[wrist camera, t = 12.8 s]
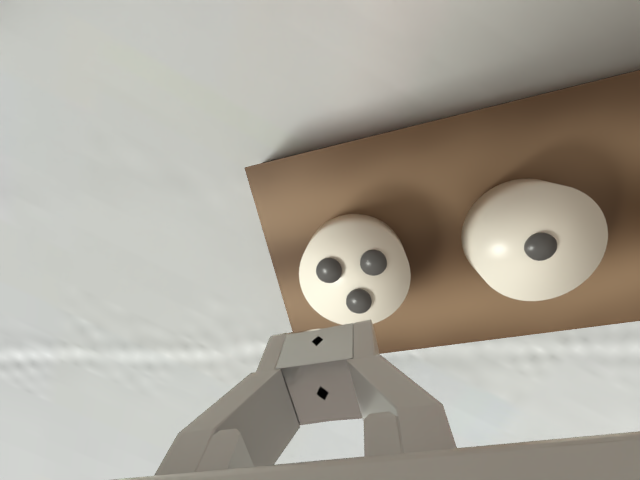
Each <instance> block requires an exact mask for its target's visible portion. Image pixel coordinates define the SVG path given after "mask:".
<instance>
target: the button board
mask: <svg viewBox="0 0 640 480" xmlns="http://www.w3.org/2000/svg"><path fill="white" fill-rule="evenodd" d="M245 171H246V174H247V178H248V181H249V184H250V188H251V191H252V195H253V198H254V201H255V205H256V208H257V212H258V215H259V219H260V222H261V225H262V229H263V232H264V236H265V239H266V242H267V246H268V249H269V253H270V256H271V259H272V263H273V266H274V270H275V273H276V276H277V280H278V283H279V287H280V290H281V293H282V297H283V300H284V304H285V307H286V310H287V314H288V317H289V321H290V324H291V327H292V331H293V332H298V331H306V330H313V329H320V328H321V329H323V328H328V327H334V326H339V325H341V324H337V323H335V322H332V321H330V320H328V319H326V318H324V317H323V316H321V315H320V314H319V313H318V312H316V311H315V310H314V309H313V308H312V307H311V305H310V304H309V303H308V301H307V300H306V298H305V296H304V294H303V292H302V289H301V286H300V281H299V267H300V262H301V259H302V256H303V254H304V252H305V250H306V248H307V246H308V244H309V242H310V240H311V238H312V236H313V235H314V233H315V232H316V231H317V230H318V229H319V228H320V227H321V226H322V225H323V224H325V223H326V222H328V221H329V220H331V219H333V218H336V217H338V216H342V215H347V214H363V215H367V216H371V217H374V218H376V219H378V220H380V221H382V222H384V223H385V224H386V225H388V226H389V227H390V228H391V229H392V230H393V231H394V232H395V233H396V235H397V236H398V238H399V239H400V241H401V244H402V246H403V249H404V251H405V254H406V256H407V259H408V262H409V266H410V273H411V279H410V286H409V290H408V293H407V295H406V297H405V299H404V301H403V303H402V304H401V305H400V307H399V308H398V309H397V310H396V311H395V312H394V313H393V314H391V315H390V316H389V317H387V318H385V319H384V320H382V321H380V322H377V323H374V324H373V327H374V331H375V336H376V340H377V345H378V349H379V354H381V353H389V352H397V351H405V350H413V349H421V348H429V347H437V346H444V345H452V344H460V343H468V342H476V341H484V340H492V339H500V338H507V337H515V336H523V335H531V334H539V333H547V332H555V331H563V330H571V329H578V328H586V327H594V326H602V325H610V324H618V323H626V322H634V321H640V70H637V71H633V72H629V73H625V74H621V75H617V76H613V77H609V78H605V79H601V80H597V81H593V82H589V83H585V84H581V85H576V86H572V87H568V88H564V89H560V90H556V91H552V92H548V93H544V94H540V95H536V96H532V97H528V98H524V99H520V100H516V101H512V102H508V103H504V104H500V105H496V106H492V107H487V108H483V109H479V110H475V111H471V112H467V113H463V114H459V115H455V116H451V117H447V118H443V119H439V120H435V121H431V122H427V123H423V124H419V125H415V126H411V127H407V128H403V129H398V130H394V131H390V132H386V133H382V134H378V135H374V136H370V137H366V138H362V139H358V140H354V141H350V142H346V143H342V144H338V145H334V146H330V147H326V148H322V149H318V150H314V151H309V152H305V153H301V154H297V155H293V156H289V157H285V158H281V159H277V160H273V161H269V162H265V163H261V164H257V165H253V166H249V167H245ZM516 179H538V180H542V181H547V182H551V183H555V184H559V185H564V186H568V187H572V188H574V189H577V190H579V191H581V192H583V193H585V194H586V195H588V196H589V197H590V198H592V199H593V200H594V201H595V202H596V204H597V205H598V206H599V207H600V209H601V210H602V212H603V214H604V217H605V219H606V223H607V228H608V241H607V246H606V250H605V253H604V256H603V258H602V260H601V262H600V264H599V265H598V267H597V268H596V269H595V271H594V272H593V273H592V274H591V275H590V277H589V278H588V279H586V280H585V281H584V282H583V283H582V284H581V285H579V286H578V287H576V288H575V289H573V290H571V291H569V292H568V293H566V294H563V295H561V296H558V297H555V298H552V299H547V300H542V301H522V300H516V299H513V298H509V297H507V296H504V295H502V294H500V293H499V292H497V291H495V290H494V289H493V288H491V287H490V286H489V285H488V284H487V283H486V282H485V280H484V279H483V278H482V277H481V276H480V275H479V273H478V272H477V271H476V270H475V269H474V268H473V267H472V265H471V264H470V263H469V261H468V260H467V258H466V256H465V254H464V251H463V247H462V240H461V235H462V227H463V223H464V221H465V218H466V216H467V214H468V212H469V210H470V209H471V207H472V206H473V204H474V203H475V202H476V201H477V200H478V199H479V198H480V197H481V196H482V195H483V194H484V193H486V192H487V191H489V190H490V189H492V188H494V187H495V186H497V185H499V184H502V183H505V182H508V181H511V180H516Z"/></svg>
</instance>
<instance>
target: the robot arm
mask: <svg viewBox="0 0 640 480" xmlns="http://www.w3.org/2000/svg"><path fill="white" fill-rule="evenodd" d="M359 418H363V421H364V453H365V457H354V458H343V459H332V460H321V461H310V462H299V463H289V464H278V465H274V464H275V462H276V461H277V459H278V458H279V456H280V455H281V454H282V452H283V451H284V449H285V448H286V446H287V445H288V444H289V442H290V441H291V439H292V438H293V436H294V435H295V433H296V432H297V431H298V429H299V428H300V426H299V425H305V424H312V423H319V422H326V421H335V420H347V419H359ZM113 480H640V431H639V432H628V433H617V434H606V435H595V436H584V437H573V438H562V439H551V440H540V441H530V442H520V443H510V444H498V445H487V446H476V447H465V448H457V447H456V444H455V441H454V438H453V435H452V432H451V429H450V426H449V423H448V420H447V416H446V413H445V410H444V407H443V404H442V403H440V402H439V401H438V400H437V399H435V398H434V397H433V396H431V395H430V394H429V393H428V392H426V391H425V390H424V389H423V388H421V387H420V386H419V385H418V384H416V383H415V382H414V381H413V380H411V379H410V378H409V377H407V376H406V375H405V374H404V373H402V372H401V371H400V370H399V369H397V368H396V367H395V366H394V365H392V364H391V363H390V362H388V361H387V360H386V359H385V358H383V357H382V356H381V355H380V354H379V349H378V345H377V340H376V336H375V331H374V327H373V323H372V321H371V319H370V320H365V321H360V322H355V323H350V324H345V325H339V326H334V327H328V328H323V329H321V328H320V329H313V330H306V331H298V332H291V333H284V334H278V335H273V336H271V337H270V338H269V341H268V343H267V346H266V348H265V351H264V353H263V356H262V358H261V361H260V363H259V366H258V368H257V371H256V372H255V373H250V374H249V375H248V376H247V377H246V378H244V379H243V380H242V381H241V382H240V383H238V384H237V385H236V386H235V387H234V388H232V389H231V390H230V391H229V392H228V393H226V394H225V395H224V396H223V397H222V398H220V399H219V400H218V401H217V402H216V403H214V404H213V405H212V406H211V407H209V408H208V409H207V410H206V411H205V412H203V413H202V414H201V415H200V416H199V417H197V418H196V419H195V420H194V421H193V422H191V423H190V424H189V425H188V426H187V427H185V428H184V429H183V430H182V431H181V432H179V433H178V435H177V436H176V438H175V440H174V442H173V443H172V445H171V447H170V449H169V450H168V452H167V454H166V456H165V457H164V459H163V461H162V463H161V464H160V466H159V468H158V470H157V471H156V473H155V475H154V476H147V477H136V478H124V479H113Z"/></svg>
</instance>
